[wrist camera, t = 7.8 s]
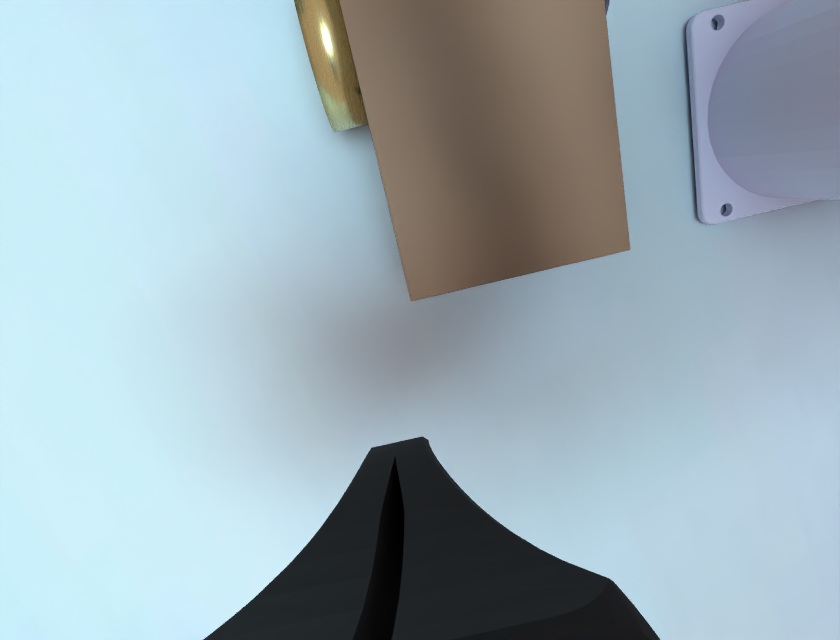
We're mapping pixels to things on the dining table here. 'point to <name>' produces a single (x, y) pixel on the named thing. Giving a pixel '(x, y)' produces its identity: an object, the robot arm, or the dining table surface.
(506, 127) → the drawbar beam
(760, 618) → the dining table surface
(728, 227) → the dining table surface
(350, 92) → the steel pin
